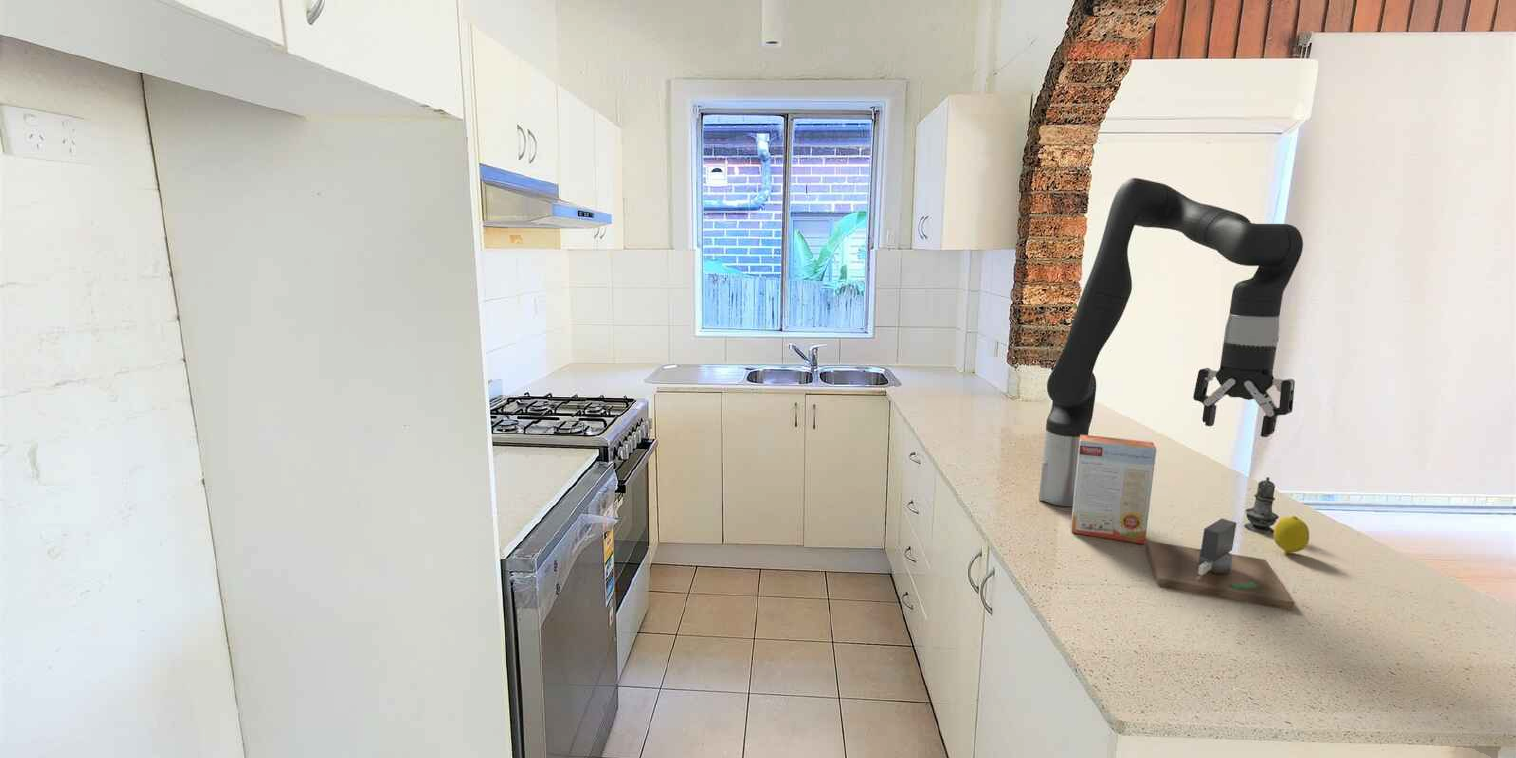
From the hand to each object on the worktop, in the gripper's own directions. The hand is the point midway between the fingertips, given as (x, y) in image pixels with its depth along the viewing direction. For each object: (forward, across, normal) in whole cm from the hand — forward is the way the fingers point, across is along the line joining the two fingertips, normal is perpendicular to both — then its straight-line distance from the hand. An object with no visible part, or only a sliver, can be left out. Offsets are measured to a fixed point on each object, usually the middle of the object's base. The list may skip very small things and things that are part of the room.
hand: (1236, 430), depth 118 cm
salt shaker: (+28, -3, +32) cm, 43 cm away
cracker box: (+28, -21, +2) cm, 36 cm away
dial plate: (+28, 0, 0) cm, 28 cm away
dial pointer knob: (+26, 0, -2) cm, 26 cm away
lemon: (+28, +5, +23) cm, 37 cm away
